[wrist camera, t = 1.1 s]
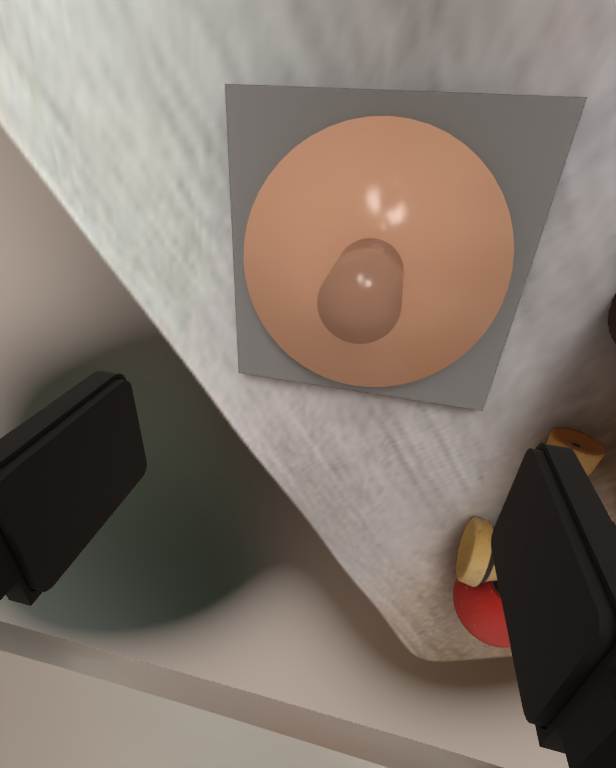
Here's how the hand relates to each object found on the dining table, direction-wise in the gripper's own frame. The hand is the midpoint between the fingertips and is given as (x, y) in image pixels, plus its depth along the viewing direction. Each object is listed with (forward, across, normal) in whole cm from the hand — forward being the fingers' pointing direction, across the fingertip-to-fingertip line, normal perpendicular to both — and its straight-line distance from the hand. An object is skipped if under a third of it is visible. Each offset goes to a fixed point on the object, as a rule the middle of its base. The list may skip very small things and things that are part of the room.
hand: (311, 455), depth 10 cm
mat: (+16, 0, -1) cm, 16 cm away
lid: (+15, 0, -1) cm, 15 cm away
